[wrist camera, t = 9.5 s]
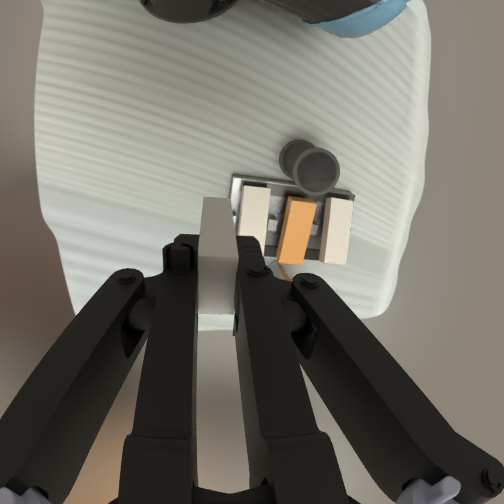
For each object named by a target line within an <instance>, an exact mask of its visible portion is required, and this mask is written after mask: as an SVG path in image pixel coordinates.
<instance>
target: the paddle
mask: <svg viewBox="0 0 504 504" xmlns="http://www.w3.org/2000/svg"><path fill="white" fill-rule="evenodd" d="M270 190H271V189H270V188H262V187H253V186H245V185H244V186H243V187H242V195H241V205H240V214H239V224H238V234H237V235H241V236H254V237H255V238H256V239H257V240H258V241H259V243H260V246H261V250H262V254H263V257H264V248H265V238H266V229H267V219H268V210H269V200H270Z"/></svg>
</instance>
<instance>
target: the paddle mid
mask: <svg viewBox="0 0 504 504" xmlns="http://www.w3.org/2000/svg"><path fill="white" fill-rule="evenodd" d="M316 206H317V203H316V202H315V201H314V200H313V199H307V198H300V197H293V196H288V200H287V205H286V210H285V215H284V220H283V225H282V230H281V235H280V240H279V244H278V249H277V254H276V257H277V260H278V262H279V263H285V264H298V265H302V263H303V259H304V255H305V251H306V247H307V243H308V239H309V235H310V231H311V227H312V223H313V219H314V214H315V210H316Z"/></svg>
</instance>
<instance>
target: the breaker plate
mask: <svg viewBox="0 0 504 504" xmlns="http://www.w3.org/2000/svg"><path fill="white" fill-rule="evenodd" d="M244 185H245V186H253V187H262V188H270V189H271V190H270V200H269V210H268V219H267V229H266V238H265V248H264V256H270V257H276V254H277V249H278V244H279V240H280V235H281V230H282V225H283V220H284V215H285V210H286V205H287V200H288V196H293V197H300V198H307V199H313V200H314V201H315V202H316V203H317V206H316V210H315V214H314V219H313V223H312V227H311V231H310V235H309V239H308V243H307V247H306V251H305V255H304V259H308V260H319V256H320V248H321V239H322V231H323V222H324V212H325V202H326V198H331V197H332V198H338V199H344V200H350V201H353V202H354V198H355V195H354V194H352V193H351V192H349V191H344V190H338V189H331V190H330V191H329V192H327V193H325V194H322V195H317V196H314V195H309V194H306V193H304V192H303V191H301V190H300V189H299V188H298V186H297V185H296V184H295V182H288V181H281V180H274V179H267V178H259V177H251V176H242V175H234V174H233V176H232V183H231V190H230V197H229V198H231V205H232V213H233V220H234V227H235V235H237V234H238V224H239V214H240V205H241V195H242V187H243V186H244ZM350 230H351V229H350Z"/></svg>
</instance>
